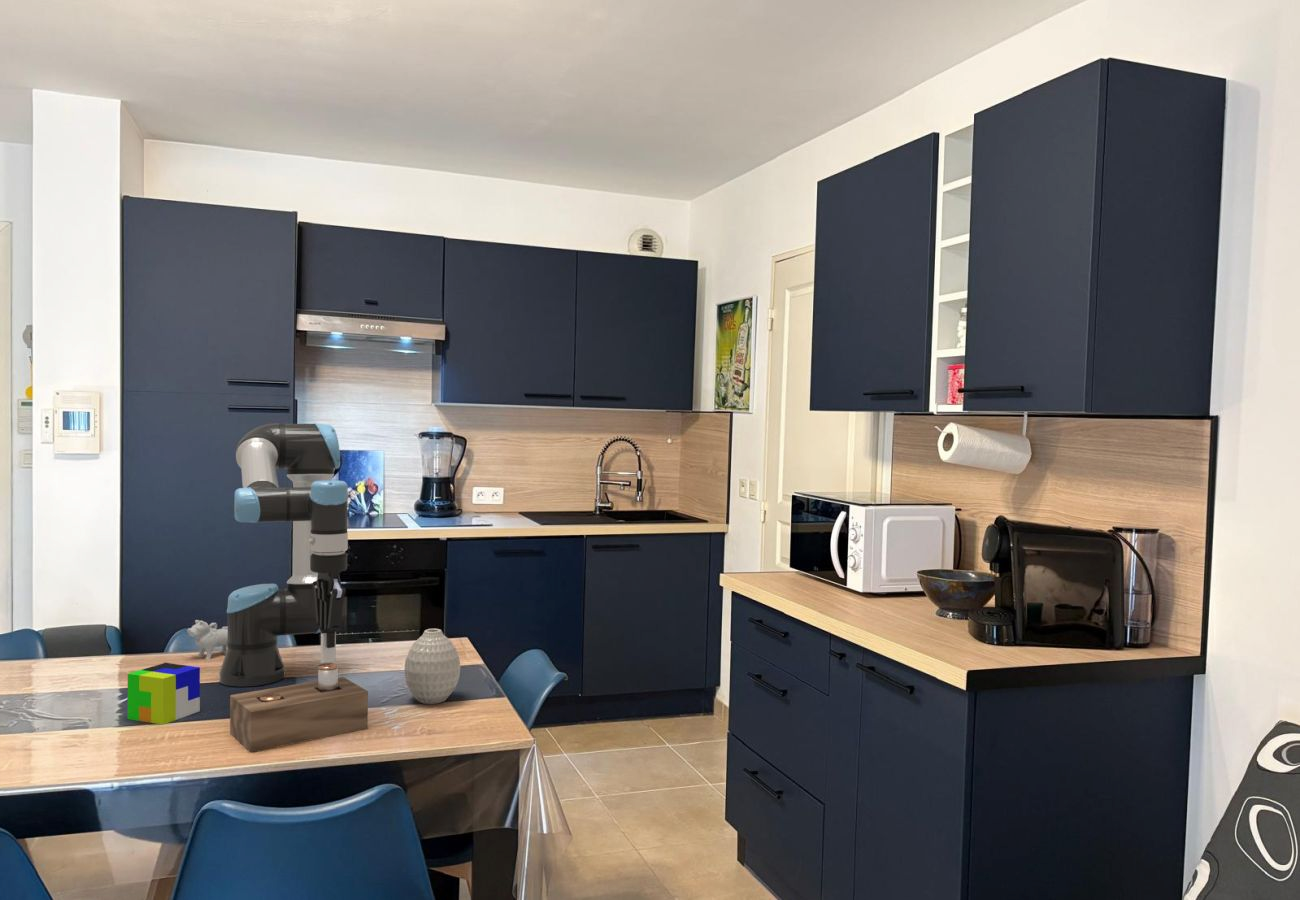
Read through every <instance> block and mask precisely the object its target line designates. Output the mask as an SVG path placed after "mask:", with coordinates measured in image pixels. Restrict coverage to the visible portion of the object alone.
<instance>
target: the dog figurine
mask: <svg viewBox="0 0 1300 900" xmlns="http://www.w3.org/2000/svg"><path fill="white" fill-rule="evenodd" d="M194 622H195V624H193V625H192V626H191V627H188V628H187V629H186V632H187V634H188V635H189V636H190V637H192V638H195V644H196V645H197V647H199V654H198V656H197V658H203V657H204V655H205V652H206V656H205V660H206V661H207V660H212V659H211V658H212V655H213V650H214V648H216V647H217V648H218V647H222V648H221V651H220V653H222V654H226V653H227V634H228V625H227V626H222V627H221V628H219V629H217V628H218V624H217V622H211V623H210V624H208V623H207V622H206V621H203V620H199V619H196V620H194Z"/></svg>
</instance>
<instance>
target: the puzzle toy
mask: <svg viewBox="0 0 1300 900" xmlns="http://www.w3.org/2000/svg"><path fill="white" fill-rule="evenodd" d="M200 701H201V667H200V666H192V665H185V664H178V663H170V662H169V663H168V662H163V663H160V664H156V665H154V666H150V667H147V668H143V669H139V670H136V671H133V672H129V673H127V720H130V721H131V720H132V721H137V722H145V723H150V724H151V723H152V724H156V725H157V724H158V725H162V726H163V725H167V724H169V723H172V722H175V721H176V720H180V719H182V718H185V717H188V716H190V715H194V714H195V713H199V712H200V711H201V709H200V707H201V706H200V705H201V702H200Z"/></svg>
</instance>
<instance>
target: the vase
mask: <svg viewBox="0 0 1300 900" xmlns="http://www.w3.org/2000/svg"><path fill="white" fill-rule="evenodd" d="M403 669H404V680H405V683H406V686H407V688H408V691H409V692H410V693H411V695H412V696H413V698H414V699H415V700H416V701H417V702H419V703H421V704H424V705H436V704H441V703H443V702H445V701H446V700H447V699H448V698H449V697H450V696H451V694H452V693H453V692H454V690H455V689H456V687H457V685H458V681H459V680H460V674H461V661H460V656H459V653H458V651H457V648H456V646H455V644H454V643H453V642H452V641H451V640H450V639H449V637H448V636H446V635H445V634H444V633H443V631H442V629H439V628H428V629H425V630H424V631H423V633H422V635H421V636H419V638H417V640H415V642H414V643H413V644H412V645H411V647H410V649H409V650H408V652H407V654H406V658H405V661H404V668H403Z"/></svg>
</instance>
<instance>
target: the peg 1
mask: <svg viewBox="0 0 1300 900" xmlns="http://www.w3.org/2000/svg"><path fill="white" fill-rule="evenodd" d="M277 700H281V695H279V694H267V695H263V696H261V697H260V701H261V702H262V703H265V702H271V701H277Z"/></svg>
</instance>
